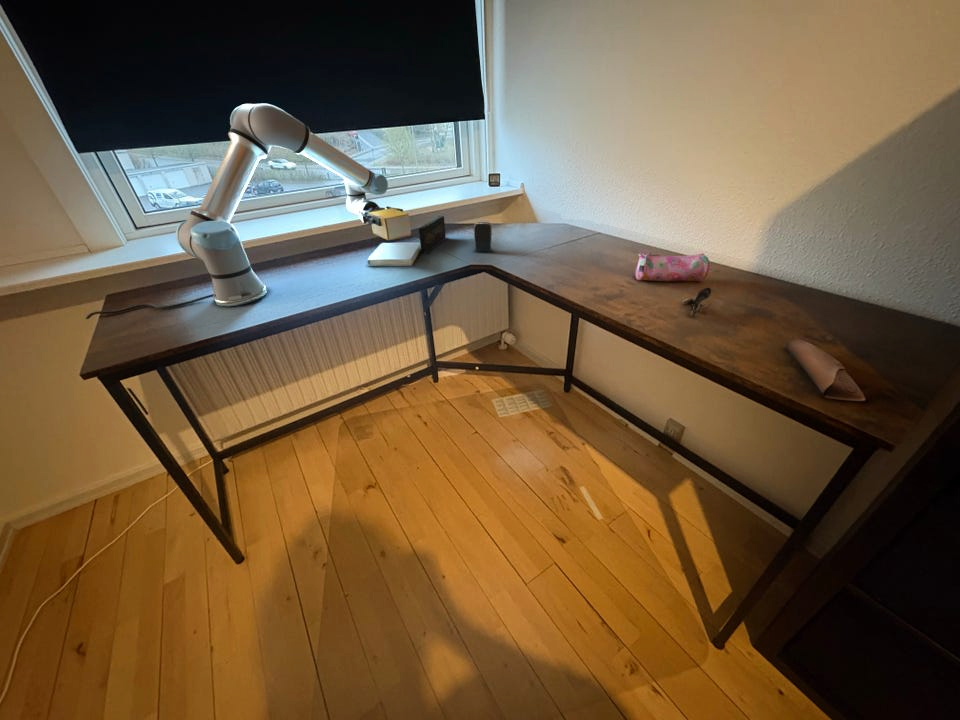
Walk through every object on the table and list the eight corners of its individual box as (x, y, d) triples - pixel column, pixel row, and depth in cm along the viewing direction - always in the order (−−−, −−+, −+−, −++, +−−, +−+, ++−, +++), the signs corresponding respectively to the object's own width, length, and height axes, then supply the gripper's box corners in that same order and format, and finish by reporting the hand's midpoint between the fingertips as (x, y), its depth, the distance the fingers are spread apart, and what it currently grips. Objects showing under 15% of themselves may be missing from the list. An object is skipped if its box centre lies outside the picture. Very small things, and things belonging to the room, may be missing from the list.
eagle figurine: (715, 316, 102) (716, 297, 108) (706, 296, 100) (707, 278, 105) (685, 324, 108) (687, 305, 113) (675, 305, 105) (678, 287, 110)
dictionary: (373, 233, 150) (369, 212, 145) (395, 228, 155) (392, 208, 150) (388, 240, 141) (384, 218, 137) (411, 235, 146) (408, 213, 142)
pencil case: (636, 284, 124) (641, 257, 119) (631, 274, 131) (636, 248, 126) (705, 286, 121) (714, 259, 116) (697, 275, 128) (705, 249, 123)
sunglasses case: (871, 401, 74) (867, 376, 71) (826, 410, 77) (821, 387, 75) (824, 351, 88) (819, 329, 86) (788, 361, 92) (782, 340, 89)
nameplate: (442, 238, 172) (440, 215, 167) (445, 238, 172) (443, 215, 166) (421, 253, 156) (418, 228, 151) (425, 253, 156) (422, 228, 150)
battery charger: (492, 249, 157) (492, 221, 151) (491, 252, 154) (491, 223, 148) (476, 249, 158) (474, 221, 152) (474, 252, 155) (473, 223, 149)
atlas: (368, 266, 146) (367, 259, 144) (382, 248, 162) (381, 242, 161) (411, 265, 145) (410, 259, 143) (421, 248, 161) (420, 242, 160)
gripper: (339, 204, 150) (362, 214, 135) (391, 196, 161) (417, 204, 146) (344, 224, 154) (366, 235, 139) (393, 214, 165) (419, 224, 151)
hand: (392, 219), depth 143 cm, fingers closed on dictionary, 10 cm apart
